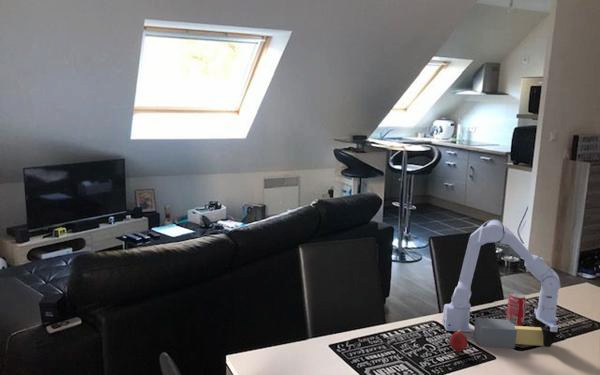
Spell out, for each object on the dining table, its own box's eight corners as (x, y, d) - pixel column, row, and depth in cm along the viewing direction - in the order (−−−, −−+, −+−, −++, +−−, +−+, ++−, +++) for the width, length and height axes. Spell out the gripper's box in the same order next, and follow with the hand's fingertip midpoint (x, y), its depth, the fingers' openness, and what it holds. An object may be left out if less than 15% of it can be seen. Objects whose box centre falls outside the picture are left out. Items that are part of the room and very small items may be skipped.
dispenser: (479, 346, 169) (481, 327, 168) (473, 335, 177) (475, 317, 176) (516, 348, 168) (518, 330, 167) (508, 337, 176) (510, 319, 175)
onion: (457, 357, 161) (459, 335, 160) (445, 349, 166) (447, 328, 165) (469, 353, 164) (472, 332, 162) (457, 346, 169) (459, 325, 167)
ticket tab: (504, 343, 171) (506, 328, 170) (502, 339, 173) (504, 325, 172) (550, 346, 170) (552, 331, 169) (547, 342, 172) (549, 327, 171)
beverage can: (519, 320, 190) (523, 292, 188) (525, 328, 184) (529, 298, 182) (503, 319, 191) (506, 291, 189) (508, 326, 185) (512, 297, 182)
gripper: (568, 315, 161) (563, 352, 164) (550, 298, 176) (545, 332, 178) (547, 314, 162) (542, 351, 164) (530, 296, 176) (526, 331, 178)
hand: (542, 341), depth 171 cm, fingers open, 7 cm apart
